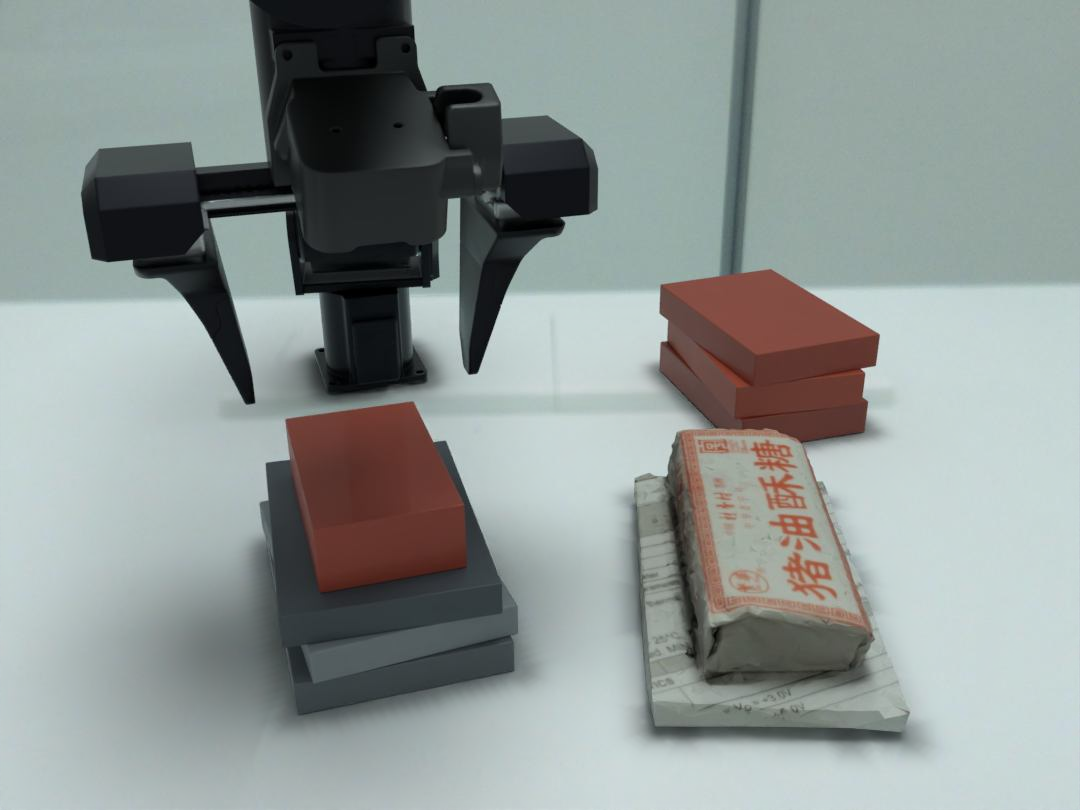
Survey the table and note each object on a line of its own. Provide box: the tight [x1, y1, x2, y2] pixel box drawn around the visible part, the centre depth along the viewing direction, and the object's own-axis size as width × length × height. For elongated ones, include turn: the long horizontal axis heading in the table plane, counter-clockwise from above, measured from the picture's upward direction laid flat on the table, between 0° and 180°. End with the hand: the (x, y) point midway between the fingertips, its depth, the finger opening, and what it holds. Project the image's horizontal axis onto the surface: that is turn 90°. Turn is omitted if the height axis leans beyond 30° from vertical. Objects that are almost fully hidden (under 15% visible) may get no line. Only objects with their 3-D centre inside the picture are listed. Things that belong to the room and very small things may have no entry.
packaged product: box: [633, 428, 911, 733], centre depth 51 cm, size 18×5×10 cm
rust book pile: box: [658, 268, 881, 443], centre depth 70 cm, size 13×9×6 cm
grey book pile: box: [258, 440, 519, 716], centre depth 52 cm, size 13×10×4 cm
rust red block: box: [284, 400, 467, 593], centre depth 50 cm, size 10×6×3 cm, turn 17°
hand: (362, 385), depth 48 cm, fingers open, 9 cm apart
